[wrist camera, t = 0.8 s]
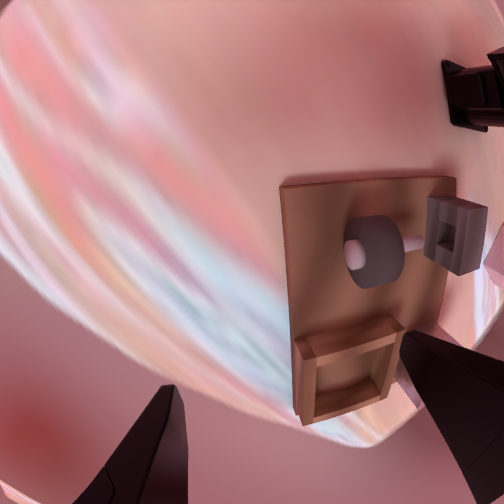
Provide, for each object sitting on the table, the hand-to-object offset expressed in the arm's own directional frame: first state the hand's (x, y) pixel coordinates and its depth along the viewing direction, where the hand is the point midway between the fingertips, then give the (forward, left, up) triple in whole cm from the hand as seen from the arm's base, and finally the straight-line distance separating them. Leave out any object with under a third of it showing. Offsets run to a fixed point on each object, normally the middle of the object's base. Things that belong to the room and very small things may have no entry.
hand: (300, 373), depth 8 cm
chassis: (-11, +7, -12) cm, 18 cm away
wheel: (-9, 0, -10) cm, 14 cm away
